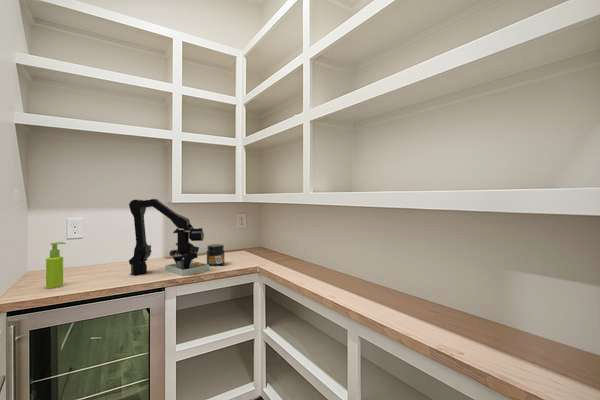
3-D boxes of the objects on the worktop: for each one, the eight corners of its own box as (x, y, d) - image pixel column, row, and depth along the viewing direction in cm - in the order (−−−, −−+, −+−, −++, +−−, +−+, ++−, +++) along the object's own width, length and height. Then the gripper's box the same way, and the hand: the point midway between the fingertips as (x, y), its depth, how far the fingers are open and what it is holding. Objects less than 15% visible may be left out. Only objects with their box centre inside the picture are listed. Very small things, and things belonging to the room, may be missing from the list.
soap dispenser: (66, 285, 129) (66, 242, 129) (46, 289, 124) (46, 244, 125) (65, 283, 133) (65, 241, 134) (45, 286, 129) (45, 242, 129)
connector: (181, 273, 148) (180, 262, 148) (176, 272, 151) (176, 261, 151) (194, 270, 154) (194, 259, 154) (190, 269, 157) (190, 258, 157)
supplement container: (220, 267, 164) (220, 246, 164) (203, 267, 165) (203, 246, 165) (227, 263, 175) (227, 244, 175) (211, 263, 176) (211, 243, 176)
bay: (182, 277, 143) (182, 270, 143) (165, 271, 155) (164, 265, 155) (209, 271, 155) (209, 264, 155) (191, 266, 167) (191, 260, 167)
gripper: (206, 240, 152) (206, 269, 152) (188, 238, 163) (188, 265, 163) (186, 243, 143) (187, 274, 143) (169, 240, 155) (169, 268, 155)
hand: (183, 270), depth 151 cm, fingers open, 6 cm apart
